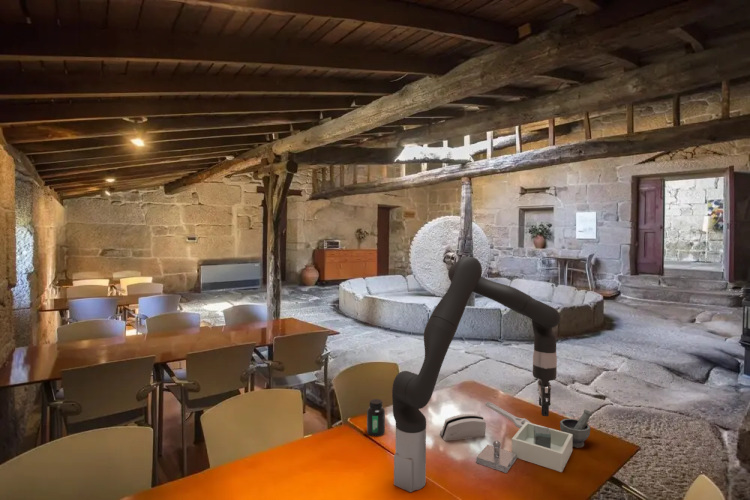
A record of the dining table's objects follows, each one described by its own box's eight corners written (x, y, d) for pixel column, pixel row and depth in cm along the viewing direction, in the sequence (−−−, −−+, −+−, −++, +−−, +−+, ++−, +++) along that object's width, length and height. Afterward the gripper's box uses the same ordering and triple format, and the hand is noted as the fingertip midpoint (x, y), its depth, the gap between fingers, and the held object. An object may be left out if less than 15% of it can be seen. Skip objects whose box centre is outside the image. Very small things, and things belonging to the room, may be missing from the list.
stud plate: (506, 473, 130) (506, 452, 129) (476, 462, 136) (476, 442, 135) (516, 459, 138) (516, 439, 137) (487, 450, 144) (487, 430, 143)
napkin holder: (479, 429, 159) (483, 409, 155) (484, 439, 154) (489, 418, 151) (438, 434, 155) (442, 413, 151) (443, 444, 151) (447, 423, 147)
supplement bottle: (377, 438, 152) (377, 406, 151) (363, 433, 156) (363, 402, 155) (388, 431, 157) (388, 400, 157) (374, 426, 161) (374, 396, 161)
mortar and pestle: (569, 450, 143) (569, 416, 143) (554, 437, 153) (555, 405, 152) (599, 448, 145) (600, 415, 144) (582, 436, 154) (583, 404, 154)
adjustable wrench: (484, 405, 182) (484, 401, 182) (496, 403, 184) (496, 400, 184) (521, 430, 159) (521, 426, 159) (534, 428, 161) (535, 423, 161)
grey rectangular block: (535, 453, 140) (535, 432, 140) (533, 446, 145) (533, 426, 144) (550, 454, 139) (550, 434, 138) (548, 447, 143) (548, 428, 143)
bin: (562, 472, 130) (562, 453, 130) (511, 456, 140) (511, 438, 139) (572, 451, 143) (572, 434, 143) (525, 437, 153) (525, 421, 152)
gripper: (531, 357, 148) (530, 401, 148) (534, 368, 134) (533, 417, 135) (553, 359, 146) (552, 404, 146) (559, 371, 132) (558, 421, 133)
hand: (543, 410), depth 141 cm, fingers open, 8 cm apart
